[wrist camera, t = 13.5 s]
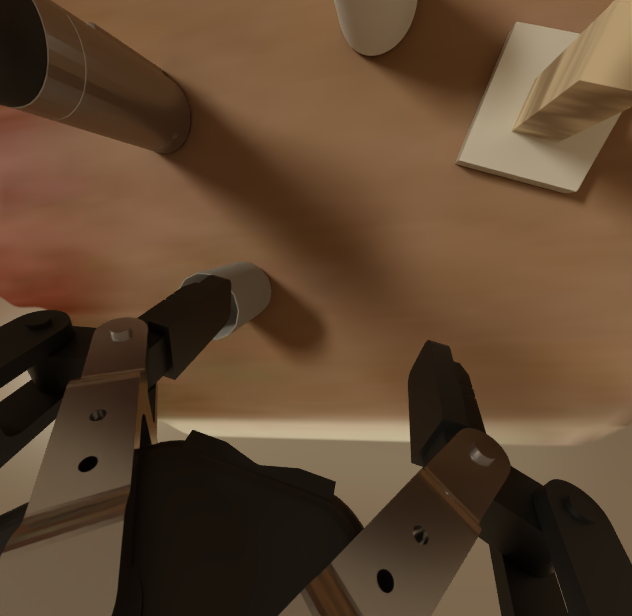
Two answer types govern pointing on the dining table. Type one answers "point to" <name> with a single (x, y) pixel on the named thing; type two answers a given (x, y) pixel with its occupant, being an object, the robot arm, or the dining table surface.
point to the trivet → (504, 108)
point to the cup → (239, 292)
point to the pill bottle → (375, 23)
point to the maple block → (583, 80)
